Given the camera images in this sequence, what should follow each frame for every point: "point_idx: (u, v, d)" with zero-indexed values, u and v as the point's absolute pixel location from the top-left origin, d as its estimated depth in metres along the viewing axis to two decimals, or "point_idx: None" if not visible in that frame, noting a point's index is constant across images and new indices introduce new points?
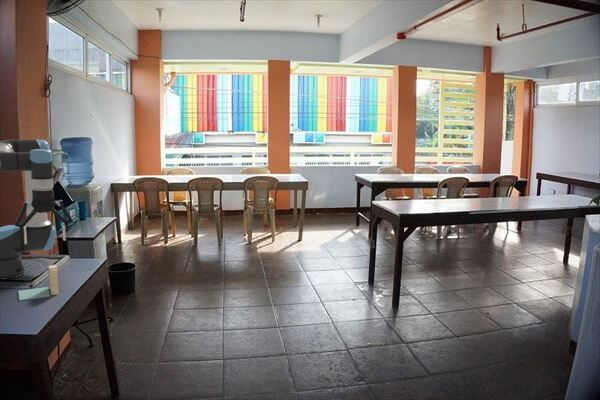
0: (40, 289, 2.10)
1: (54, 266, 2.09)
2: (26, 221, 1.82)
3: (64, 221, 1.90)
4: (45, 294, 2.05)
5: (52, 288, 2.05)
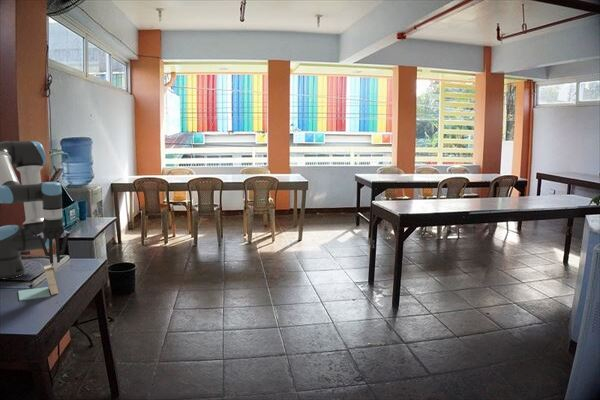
0: (40, 289, 2.10)
1: (49, 266, 2.08)
2: (51, 250, 2.05)
3: (57, 252, 2.07)
4: (45, 294, 2.05)
5: (51, 288, 2.05)
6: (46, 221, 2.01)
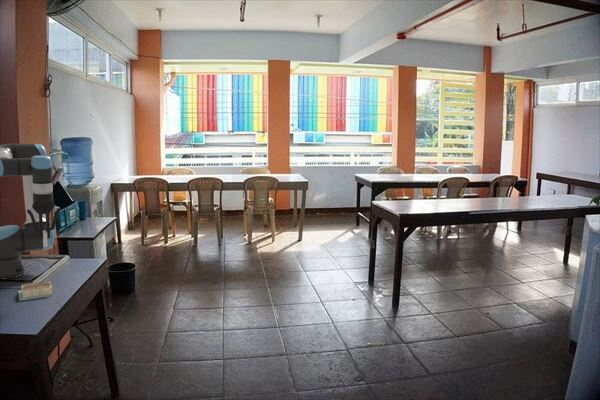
0: None
1: None
2: (41, 225, 2.01)
3: (48, 228, 2.03)
4: None
5: (44, 293, 2.04)
6: (36, 195, 1.97)
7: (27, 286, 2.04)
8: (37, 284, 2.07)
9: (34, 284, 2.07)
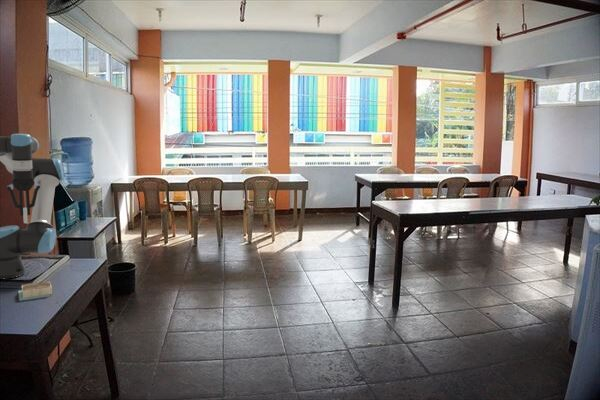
0: None
1: None
2: (21, 202, 2.06)
3: (28, 204, 2.07)
4: None
5: (44, 293, 2.04)
6: (15, 172, 2.02)
7: (27, 286, 2.04)
8: (37, 284, 2.07)
9: (34, 284, 2.07)
